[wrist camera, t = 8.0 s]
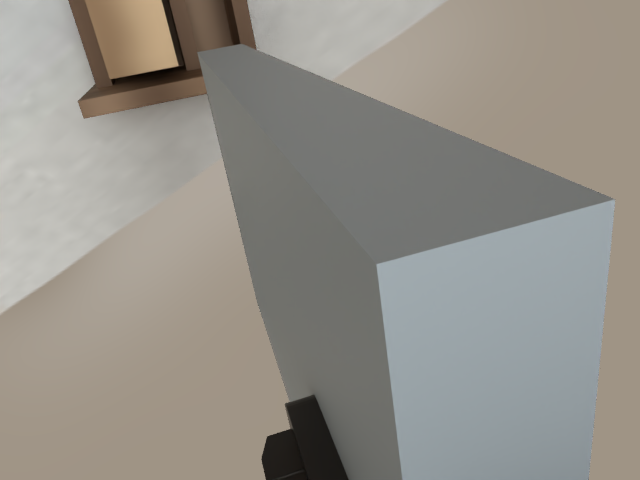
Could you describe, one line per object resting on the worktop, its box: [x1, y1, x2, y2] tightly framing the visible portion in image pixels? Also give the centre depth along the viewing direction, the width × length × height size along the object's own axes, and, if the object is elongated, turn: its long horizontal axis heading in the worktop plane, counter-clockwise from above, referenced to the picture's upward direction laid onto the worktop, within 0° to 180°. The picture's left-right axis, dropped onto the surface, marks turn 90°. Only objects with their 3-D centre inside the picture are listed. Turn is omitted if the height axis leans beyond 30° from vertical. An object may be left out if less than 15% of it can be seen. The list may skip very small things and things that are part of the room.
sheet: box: [197, 44, 615, 480], centre depth 17 cm, size 2×13×22 cm, turn 9°
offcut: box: [85, 0, 179, 79], centre depth 34 cm, size 4×6×10 cm, turn 10°
